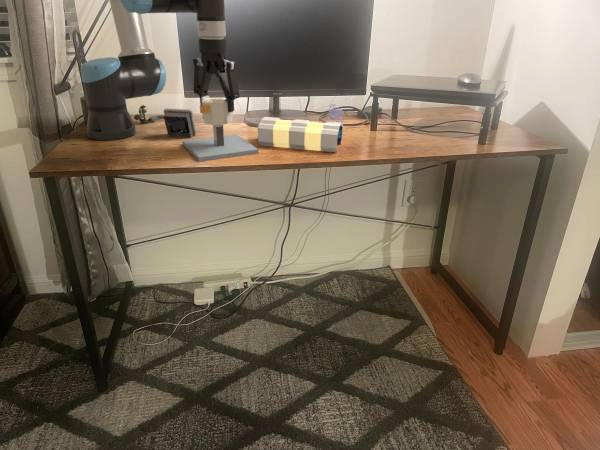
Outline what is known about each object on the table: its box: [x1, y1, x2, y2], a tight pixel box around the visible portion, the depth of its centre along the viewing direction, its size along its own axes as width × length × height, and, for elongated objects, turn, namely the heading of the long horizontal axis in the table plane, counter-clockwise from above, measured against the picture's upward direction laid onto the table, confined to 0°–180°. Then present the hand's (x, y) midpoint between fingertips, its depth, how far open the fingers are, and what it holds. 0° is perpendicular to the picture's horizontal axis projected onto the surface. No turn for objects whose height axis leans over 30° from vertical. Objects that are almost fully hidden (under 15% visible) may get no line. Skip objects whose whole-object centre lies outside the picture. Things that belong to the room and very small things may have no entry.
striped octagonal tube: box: [257, 103, 344, 153], centre depth 138 cm, size 25×10×13 cm, turn 76°
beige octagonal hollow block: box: [199, 97, 226, 126], centre depth 130 cm, size 8×10×6 cm
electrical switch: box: [163, 107, 197, 139], centre depth 145 cm, size 9×5×9 cm, turn 84°
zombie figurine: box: [133, 104, 164, 125], centre depth 162 cm, size 5×7×15 cm
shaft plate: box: [181, 125, 259, 162], centre depth 134 cm, size 18×18×7 cm
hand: (217, 120), depth 132 cm, fingers closed on beige octagonal hollow block, 8 cm apart
